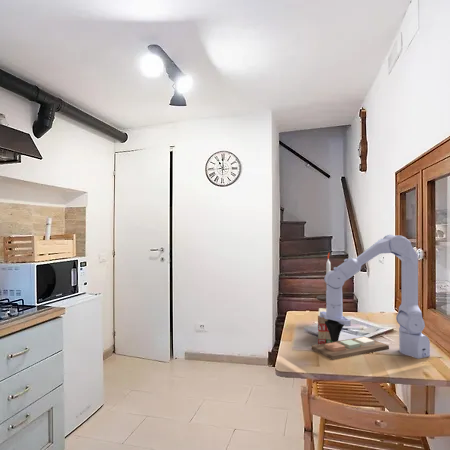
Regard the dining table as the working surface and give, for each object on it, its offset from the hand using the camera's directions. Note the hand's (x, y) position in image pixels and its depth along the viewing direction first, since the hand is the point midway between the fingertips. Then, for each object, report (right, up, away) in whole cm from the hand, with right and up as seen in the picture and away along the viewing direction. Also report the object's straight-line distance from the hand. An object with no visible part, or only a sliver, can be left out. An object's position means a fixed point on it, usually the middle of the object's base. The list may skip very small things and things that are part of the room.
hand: (334, 341), depth 133 cm
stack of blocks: (+2, -5, +18) cm, 19 cm away
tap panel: (+7, -5, +3) cm, 9 cm away
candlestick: (+8, -5, +34) cm, 35 cm away
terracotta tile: (0, -4, 0) cm, 4 cm away
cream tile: (+13, -4, +5) cm, 15 cm away
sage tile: (+7, -4, +3) cm, 8 cm away
